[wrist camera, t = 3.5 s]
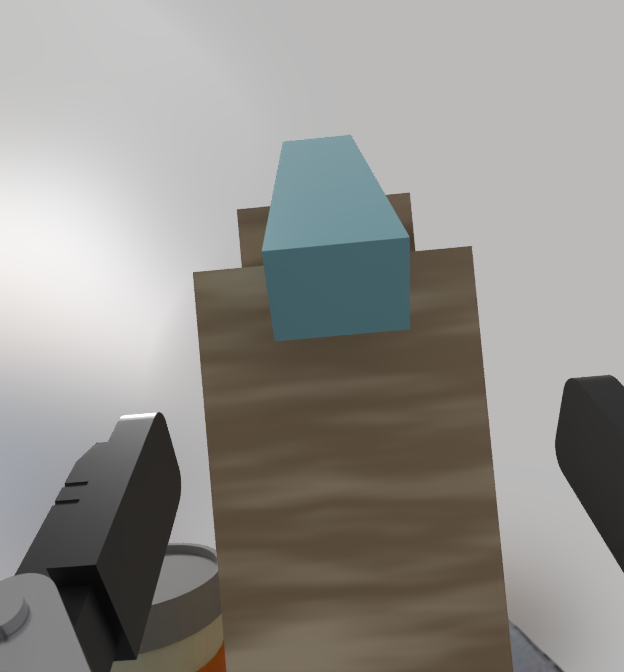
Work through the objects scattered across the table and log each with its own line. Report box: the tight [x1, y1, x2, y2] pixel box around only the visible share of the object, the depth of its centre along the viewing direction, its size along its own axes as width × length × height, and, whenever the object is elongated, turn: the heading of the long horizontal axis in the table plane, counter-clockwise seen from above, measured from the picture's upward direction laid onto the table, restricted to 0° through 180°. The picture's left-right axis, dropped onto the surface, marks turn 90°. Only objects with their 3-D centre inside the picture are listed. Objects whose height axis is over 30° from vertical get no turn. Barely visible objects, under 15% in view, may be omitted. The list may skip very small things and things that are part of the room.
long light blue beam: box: [262, 135, 410, 341], centre depth 29 cm, size 22×5×15 cm, turn 178°
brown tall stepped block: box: [193, 193, 513, 672], centre depth 33 cm, size 14×14×41 cm
